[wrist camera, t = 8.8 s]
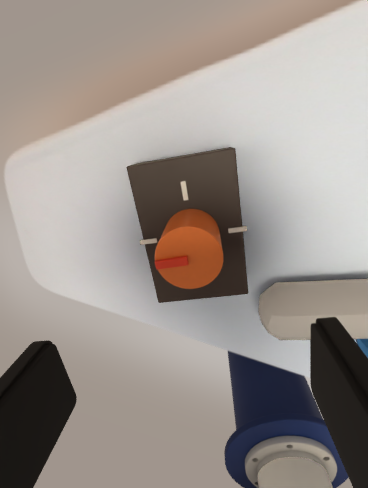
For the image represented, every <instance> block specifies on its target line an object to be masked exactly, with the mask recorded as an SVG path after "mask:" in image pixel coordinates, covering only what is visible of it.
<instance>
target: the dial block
mask: <svg viewBox="0 0 368 488" xmlns="http://www.w3.org/2000/svg"><path fill="white" fill-rule="evenodd" d="M127 171H128V176H129V180H130V184H131V188H132V192H133V197H134V201H135V205H136V209H137V213H138V218H139V222H140V226H141V230H142V234H143V239H144V240H140V245H143V244H145V247H146V251H147V256H148V260H149V264H150V268H151V272H152V277H153V281H154V285H155V289H156V293H157V298H158V302H159V303H161V302H171V301H181V300H191V299H201V298H211V297H221V296H231V295H241V294H248V285H247V274H246V263H245V252H244V241H243V231H247V227H246V226H243V227H242V219H241V208H240V197H239V186H238V175H237V164H236V153H235V148H231V147H229V148H223V149H217V150H211V151H206V152H200V153H194V154H188V155H183V156H177V157H171V158H166V159H160V160H154V161H148V162H143V163H137V164H134V165H131V166H128V167H127ZM186 209H198V210H202V211H204V212H206V213H208V214H209V215H210V216H211V217H212V218H213V219H214V220H215V221H216V223H217V225H218V228H219V232H220V238H221V244H222V250H223V265H222V268H221V271H220V273H219V274H218V276H217V277H216V278H215V279H214V280H213V281H212V282H210V283H209V284H207V285H205V286H203V287H200V288H195V289H185V288H180V287H177V286H174V285H172V284H171V283H169V282H168V281H166V280H165V279H164V278H163V277H162V275H161V274H160V273H159V271H158V269H157V270H156V266H155V250H156V247H157V244H158V242H159V240H160V238H161V236H162V234H163V231H164V229H165V227H166V225H167V223H168V221H169V220H170V218H171V217H172V216H173V215H175V214H176V213H178V212H180V211H182V210H186Z"/></svg>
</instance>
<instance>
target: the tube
mask: <svg viewBox="0 0 368 488" xmlns="http://www.w3.org/2000/svg"><path fill="white" fill-rule="evenodd" d="M258 312H259V316H260V319H261V322H262V324H263V325H264V327H265V328H266V330H267V331H268V333H270V334H271V335H273V336H274V337H276V338H278V339H279V340H311V324H312V323H316V319H317V318H327V317H336V318H337V319H338V320H339V321H340V323H341V324H342V325H343V326H344V328H345V329H346V330H347V332H348V333H349V334H350V336H351V337H352V338H353V339H368V279H350V280H326V281H302V282H278V283H274V284H273V285H272V286H270V287H269V288H268V289H267V290H265V291H264V292H263V293H262V294H261V295H260V298H259V309H258Z"/></svg>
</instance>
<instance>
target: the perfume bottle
mask: <svg viewBox="0 0 368 488" xmlns="http://www.w3.org/2000/svg"><path fill="white" fill-rule="evenodd" d="M357 343H358V346H359V347H360V349H361V350H362V351H363V353H364V354H365V355H366V357H367V358H368V339H357Z"/></svg>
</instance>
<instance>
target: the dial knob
mask: <svg viewBox="0 0 368 488" xmlns="http://www.w3.org/2000/svg"><path fill="white" fill-rule="evenodd" d="M222 265H223V250H222V244H221V238H220V232H219V228H218V225H217V223H216V221H215V220H214V219H213V218H212V217H211V216H210V215H209V214H208V213H206V212H204V211H202V210H198V209H186V210H182V211H180V212H178V213H176V214H175V215H173V216H172V217H171V218H170V220H169V221H168V223H167V225H166V227H165V229H164V231H163V234H162V236H161V238H160V240H159V242H158V244H157V247H156V250H155V266H156V270H157V269H158V271H159V273H160V274H161V275H162V277H163V278H164V279H165V280H166V281H168V282H169V283H171V284H172V285H174V286H177V287H180V288H185V289H195V288H200V287H203V286H205V285H207V284H209V283H210V282H212V281H213V280H214V279H215V278H216V277H217V276H218V274H219V273H220V271H221V268H222Z"/></svg>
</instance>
